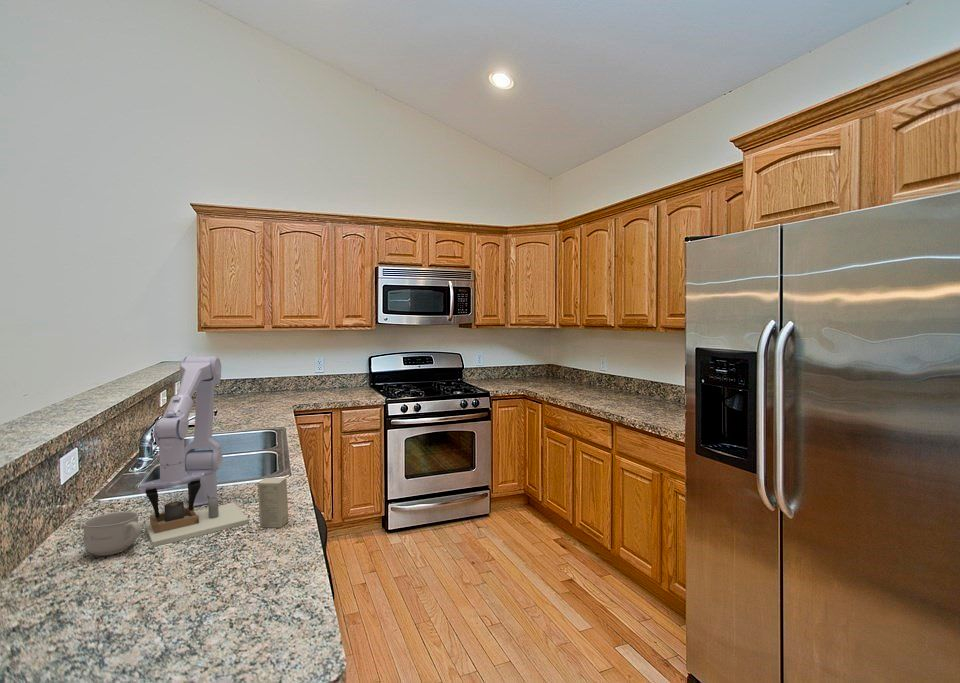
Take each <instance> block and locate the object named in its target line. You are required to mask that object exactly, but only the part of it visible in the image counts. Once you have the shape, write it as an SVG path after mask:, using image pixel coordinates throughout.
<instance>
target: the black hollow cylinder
mask: <svg viewBox="0 0 960 683" xmlns="http://www.w3.org/2000/svg"><path fill="white" fill-rule="evenodd" d="M184 506H185V504H184V501H171V502H168V503H166V504H165V505H164V506H163V508H164V512H165V522H168V521H173V520H177V519H182V518H184V508H185V507H184Z"/></svg>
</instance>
